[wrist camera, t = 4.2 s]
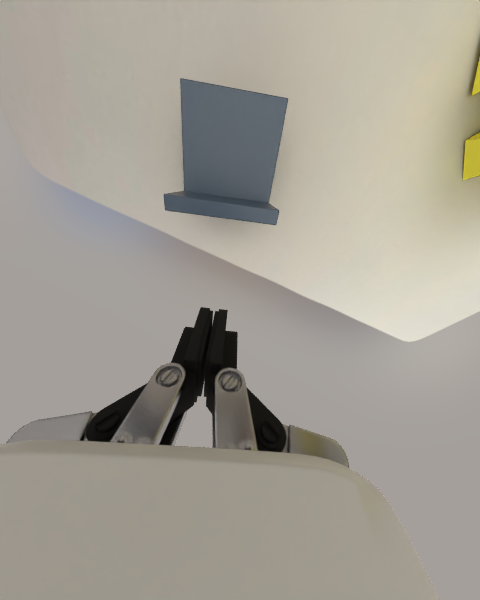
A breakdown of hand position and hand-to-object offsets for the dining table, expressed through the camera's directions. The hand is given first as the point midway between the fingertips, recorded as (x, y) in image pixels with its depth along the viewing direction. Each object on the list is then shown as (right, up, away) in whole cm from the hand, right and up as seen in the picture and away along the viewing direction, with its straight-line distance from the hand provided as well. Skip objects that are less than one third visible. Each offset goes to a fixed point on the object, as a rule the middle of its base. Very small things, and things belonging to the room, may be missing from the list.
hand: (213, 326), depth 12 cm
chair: (+1, +18, +10) cm, 20 cm away
